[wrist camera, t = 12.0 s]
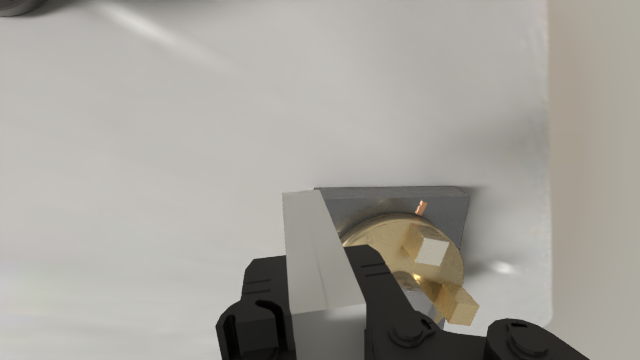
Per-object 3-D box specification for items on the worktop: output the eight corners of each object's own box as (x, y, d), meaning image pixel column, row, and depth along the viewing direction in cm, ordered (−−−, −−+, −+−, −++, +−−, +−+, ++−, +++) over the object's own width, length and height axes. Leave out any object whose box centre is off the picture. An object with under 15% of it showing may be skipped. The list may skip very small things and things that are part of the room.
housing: (310, 321, 47) (313, 343, 43) (314, 187, 40) (318, 199, 36) (430, 311, 50) (443, 331, 46) (453, 185, 43) (471, 196, 39)
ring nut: (297, 260, 38) (303, 304, 31) (421, 187, 38) (457, 214, 30) (361, 346, 44) (378, 401, 37) (468, 285, 44) (508, 328, 36)
